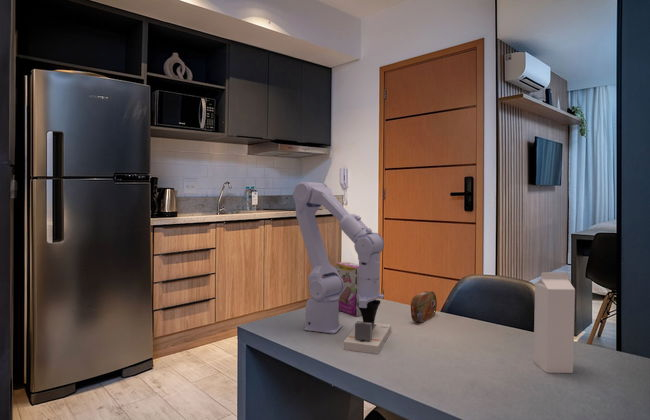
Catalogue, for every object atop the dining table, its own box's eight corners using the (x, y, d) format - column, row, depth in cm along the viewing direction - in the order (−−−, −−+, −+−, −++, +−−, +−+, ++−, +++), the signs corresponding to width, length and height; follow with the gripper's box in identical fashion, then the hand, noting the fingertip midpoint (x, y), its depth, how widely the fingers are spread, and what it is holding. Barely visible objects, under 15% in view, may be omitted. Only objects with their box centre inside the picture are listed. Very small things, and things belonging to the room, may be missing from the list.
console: (343, 349, 105) (343, 341, 104) (361, 328, 121) (361, 321, 121) (377, 354, 102) (377, 345, 101) (391, 331, 118) (391, 324, 118)
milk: (533, 362, 97) (534, 269, 96) (559, 362, 97) (560, 270, 96) (546, 373, 91) (547, 274, 90) (574, 373, 91) (575, 274, 90)
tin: (418, 326, 124) (418, 298, 124) (408, 324, 126) (408, 296, 126) (437, 314, 136) (437, 289, 136) (428, 313, 138) (428, 288, 138)
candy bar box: (334, 309, 141) (334, 262, 141) (345, 307, 144) (346, 261, 144) (356, 317, 132) (356, 267, 132) (367, 315, 135) (367, 265, 135)
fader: (354, 339, 106) (355, 323, 105) (357, 336, 108) (357, 320, 108) (370, 340, 104) (370, 325, 104) (372, 337, 106) (372, 322, 106)
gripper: (377, 284, 103) (377, 337, 103) (388, 274, 116) (388, 321, 117) (350, 282, 105) (350, 334, 106) (364, 272, 119) (364, 318, 119)
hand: (368, 327), depth 111 cm, fingers closed
